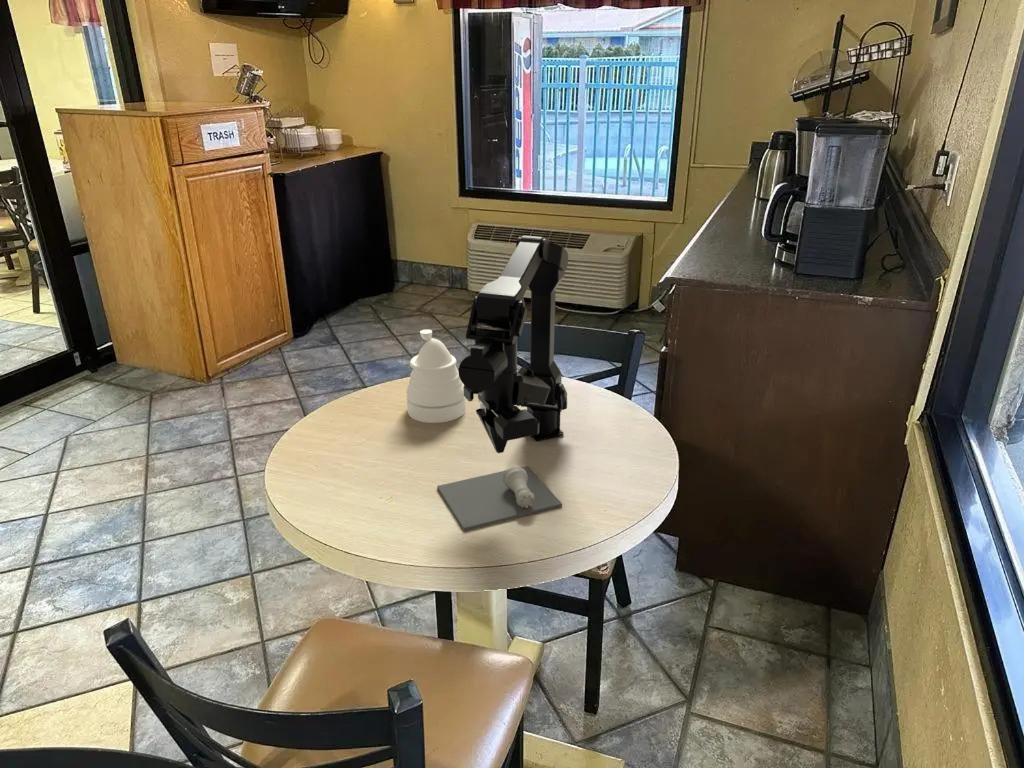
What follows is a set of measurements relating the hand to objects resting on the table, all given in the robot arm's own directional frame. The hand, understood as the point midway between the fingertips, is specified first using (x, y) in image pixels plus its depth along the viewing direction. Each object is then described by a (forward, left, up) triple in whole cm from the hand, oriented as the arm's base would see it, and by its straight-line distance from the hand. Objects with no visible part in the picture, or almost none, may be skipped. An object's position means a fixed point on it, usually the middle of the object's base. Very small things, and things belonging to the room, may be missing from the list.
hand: (499, 451), depth 121 cm
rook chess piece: (-4, -3, -7) cm, 8 cm away
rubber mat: (0, -1, -10) cm, 10 cm away
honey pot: (-1, -39, -10) cm, 40 cm away
